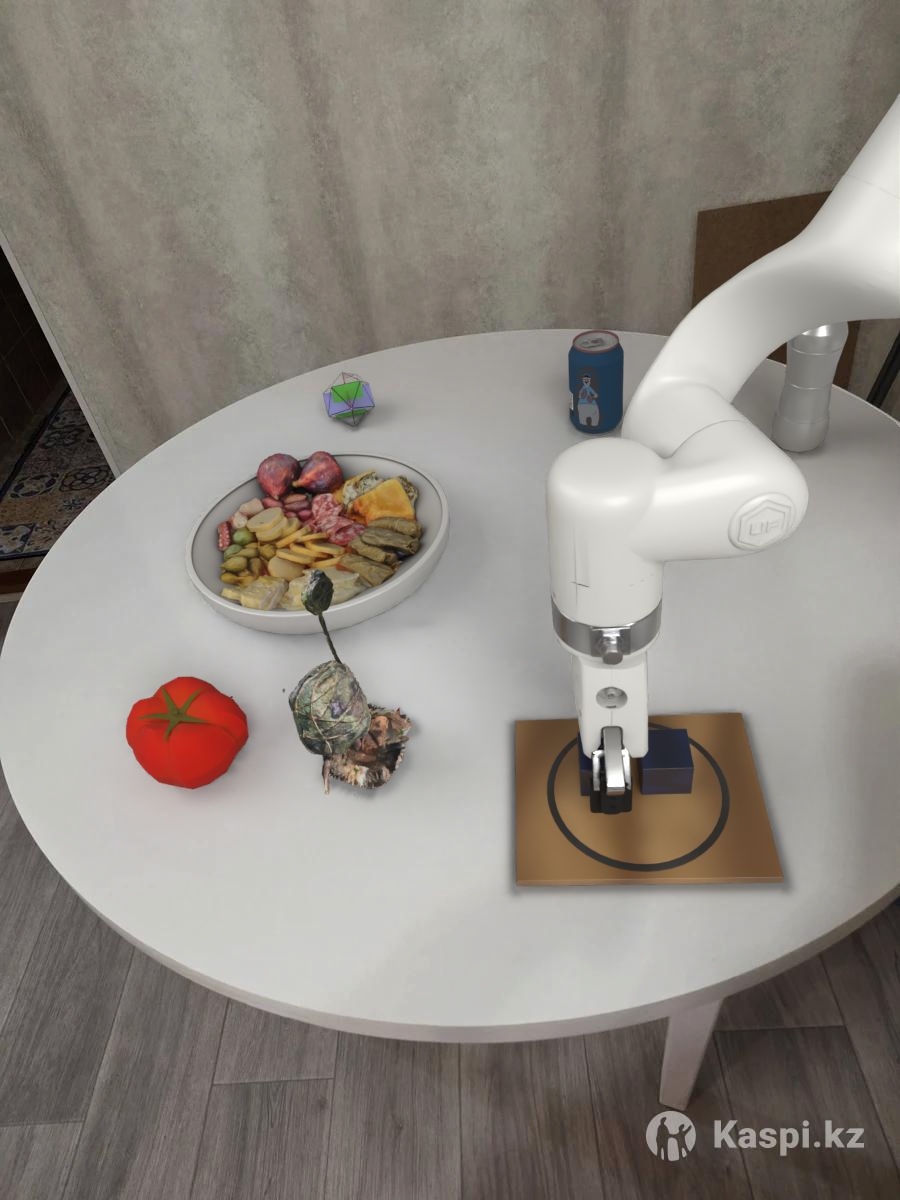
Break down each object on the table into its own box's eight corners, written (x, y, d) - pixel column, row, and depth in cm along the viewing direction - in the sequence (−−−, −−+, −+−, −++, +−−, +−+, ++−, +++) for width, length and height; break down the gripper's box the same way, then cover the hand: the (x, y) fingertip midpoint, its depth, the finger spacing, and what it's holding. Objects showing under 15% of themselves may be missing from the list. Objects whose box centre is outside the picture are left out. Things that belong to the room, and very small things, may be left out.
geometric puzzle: (380, 419, 119) (366, 361, 118) (331, 429, 118) (317, 371, 117) (378, 426, 126) (365, 371, 125) (332, 436, 125) (318, 381, 125)
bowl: (503, 571, 95) (498, 514, 90) (252, 693, 86) (229, 638, 81) (381, 456, 116) (370, 404, 110) (167, 545, 106) (144, 493, 101)
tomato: (202, 696, 87) (181, 650, 82) (273, 745, 81) (255, 699, 77) (121, 761, 82) (94, 716, 77) (191, 819, 76) (166, 774, 71)
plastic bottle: (758, 447, 107) (781, 290, 94) (788, 423, 110) (814, 268, 97) (806, 464, 103) (837, 304, 90) (836, 440, 106) (870, 281, 93)
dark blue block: (624, 755, 74) (625, 730, 72) (629, 795, 71) (630, 769, 69) (577, 757, 75) (577, 731, 72) (580, 796, 72) (580, 771, 69)
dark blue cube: (683, 754, 74) (686, 728, 71) (691, 793, 71) (694, 767, 68) (636, 755, 74) (637, 729, 72) (641, 795, 71) (642, 769, 69)
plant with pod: (287, 779, 78) (222, 620, 64) (371, 698, 84) (328, 537, 70) (352, 823, 74) (297, 662, 60) (435, 735, 80) (402, 571, 66)
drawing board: (740, 718, 77) (741, 710, 76) (782, 882, 65) (784, 875, 65) (516, 725, 79) (515, 718, 79) (517, 886, 68) (516, 879, 67)
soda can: (614, 407, 118) (615, 323, 110) (628, 432, 113) (631, 347, 105) (564, 415, 118) (562, 332, 110) (576, 442, 113) (575, 357, 105)
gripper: (679, 702, 53) (665, 851, 65) (646, 529, 66) (640, 679, 77) (556, 706, 54) (565, 853, 66) (547, 535, 67) (555, 683, 78)
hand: (605, 759), depth 72 cm, fingers open, 9 cm apart
